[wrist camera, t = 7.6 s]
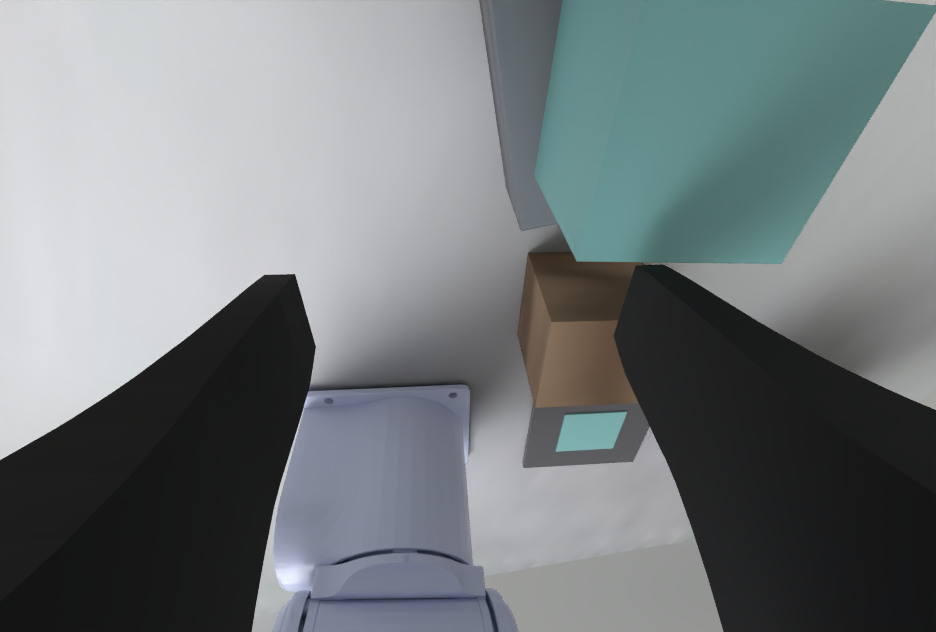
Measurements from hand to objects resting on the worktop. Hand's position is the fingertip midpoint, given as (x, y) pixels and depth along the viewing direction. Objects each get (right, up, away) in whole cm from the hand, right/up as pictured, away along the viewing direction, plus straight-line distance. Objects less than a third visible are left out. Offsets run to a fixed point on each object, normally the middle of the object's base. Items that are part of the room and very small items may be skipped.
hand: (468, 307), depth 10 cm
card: (+8, -8, +19) cm, 22 cm away
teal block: (+5, +6, +3) cm, 8 cm away
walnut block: (+5, +1, +12) cm, 13 cm away
